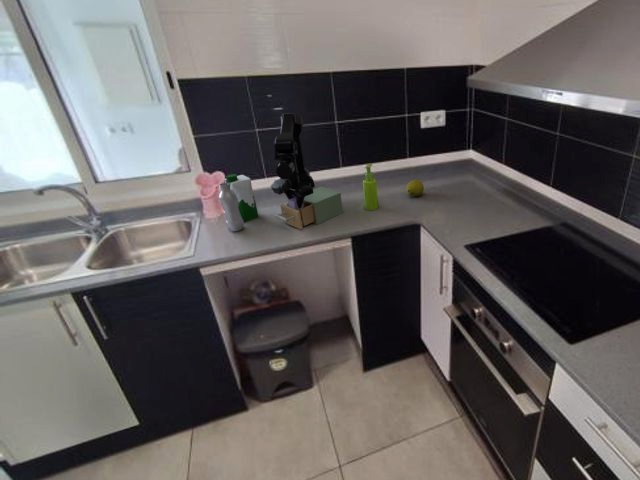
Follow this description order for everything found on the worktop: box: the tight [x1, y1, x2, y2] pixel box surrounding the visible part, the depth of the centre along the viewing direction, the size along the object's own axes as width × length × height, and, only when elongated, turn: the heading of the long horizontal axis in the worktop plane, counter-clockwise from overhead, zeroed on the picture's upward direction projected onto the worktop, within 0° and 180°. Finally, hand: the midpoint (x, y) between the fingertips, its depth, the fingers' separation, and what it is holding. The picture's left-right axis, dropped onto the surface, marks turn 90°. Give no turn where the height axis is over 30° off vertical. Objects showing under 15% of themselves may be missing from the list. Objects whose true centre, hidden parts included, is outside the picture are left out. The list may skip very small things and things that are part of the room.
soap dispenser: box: [362, 163, 379, 211], centre depth 170 cm, size 6×7×20 cm
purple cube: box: [287, 197, 304, 210], centre depth 156 cm, size 4×4×4 cm
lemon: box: [405, 179, 425, 197], centre depth 184 cm, size 11×8×8 cm
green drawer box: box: [304, 186, 344, 225], centre depth 166 cm, size 15×13×10 cm
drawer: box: [274, 201, 315, 230], centre depth 159 cm, size 18×11×8 cm, turn 143°
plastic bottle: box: [218, 181, 245, 232], centre depth 152 cm, size 6×7×20 cm
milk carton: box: [224, 173, 259, 223], centre depth 162 cm, size 9×9×20 cm
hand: (296, 206), depth 157 cm, fingers closed on purple cube, 4 cm apart
